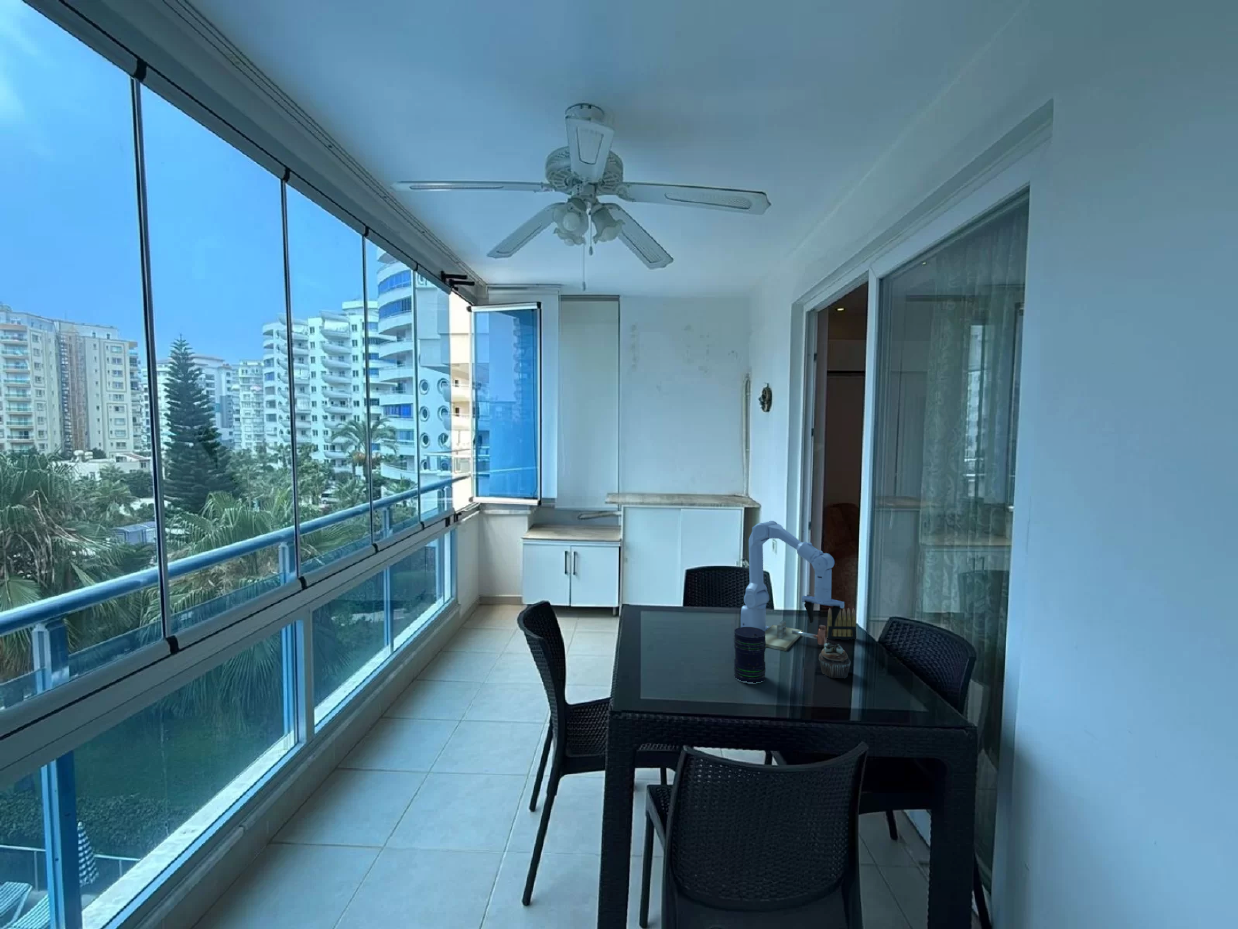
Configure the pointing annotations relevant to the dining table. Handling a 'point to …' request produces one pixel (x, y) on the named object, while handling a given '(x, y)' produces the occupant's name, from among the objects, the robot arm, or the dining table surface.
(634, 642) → the dining table surface
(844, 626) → the ammunition clip
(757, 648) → the storage jar
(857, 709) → the dining table surface
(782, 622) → the eye bracket
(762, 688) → the dining table surface
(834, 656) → the cupcake
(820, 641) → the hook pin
